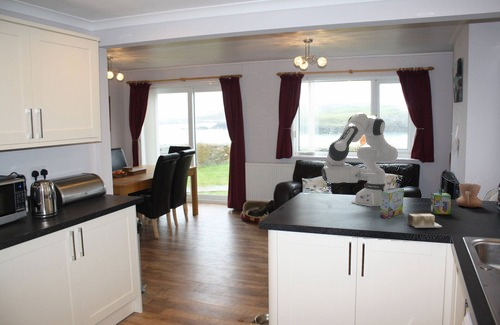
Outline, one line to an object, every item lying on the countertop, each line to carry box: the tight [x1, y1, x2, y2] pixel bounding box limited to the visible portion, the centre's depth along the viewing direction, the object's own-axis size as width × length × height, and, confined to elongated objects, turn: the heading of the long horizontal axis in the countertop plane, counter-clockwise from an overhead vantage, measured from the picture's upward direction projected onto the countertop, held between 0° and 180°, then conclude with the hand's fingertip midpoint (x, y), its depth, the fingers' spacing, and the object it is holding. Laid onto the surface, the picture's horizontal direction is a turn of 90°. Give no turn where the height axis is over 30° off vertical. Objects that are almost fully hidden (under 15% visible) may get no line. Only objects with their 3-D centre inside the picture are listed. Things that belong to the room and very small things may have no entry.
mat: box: [411, 222, 443, 229], centre depth 213 cm, size 14×9×1 cm, turn 91°
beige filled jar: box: [407, 213, 436, 226], centre depth 213 cm, size 5×5×12 cm
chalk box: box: [430, 187, 452, 215], centre depth 240 cm, size 9×9×15 cm
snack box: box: [379, 187, 405, 220], centre depth 236 cm, size 21×6×15 cm, turn 138°
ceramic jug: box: [456, 182, 483, 209], centre depth 257 cm, size 18×14×14 cm
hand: (379, 173), depth 210 cm, fingers closed
